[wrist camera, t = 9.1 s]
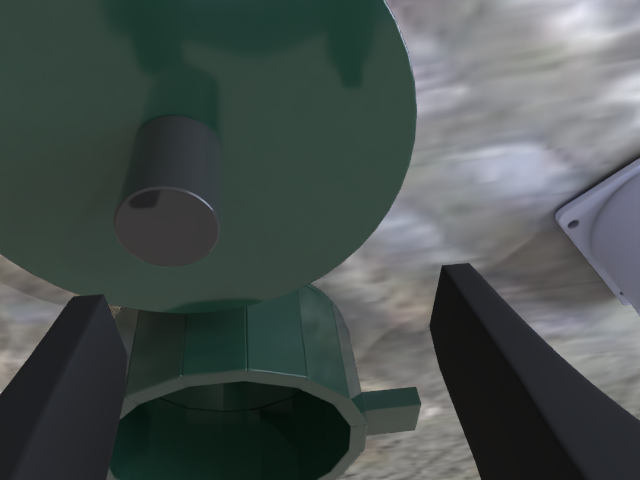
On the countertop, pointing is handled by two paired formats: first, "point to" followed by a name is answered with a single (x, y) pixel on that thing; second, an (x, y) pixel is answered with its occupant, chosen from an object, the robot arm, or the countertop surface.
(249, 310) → the pot
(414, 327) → the countertop surface
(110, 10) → the lid
